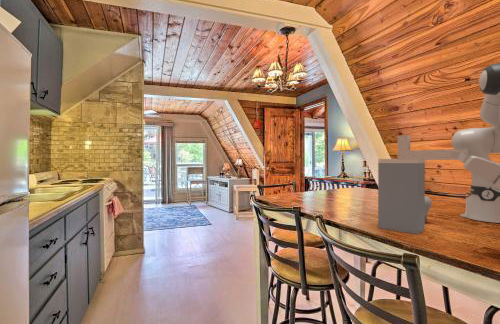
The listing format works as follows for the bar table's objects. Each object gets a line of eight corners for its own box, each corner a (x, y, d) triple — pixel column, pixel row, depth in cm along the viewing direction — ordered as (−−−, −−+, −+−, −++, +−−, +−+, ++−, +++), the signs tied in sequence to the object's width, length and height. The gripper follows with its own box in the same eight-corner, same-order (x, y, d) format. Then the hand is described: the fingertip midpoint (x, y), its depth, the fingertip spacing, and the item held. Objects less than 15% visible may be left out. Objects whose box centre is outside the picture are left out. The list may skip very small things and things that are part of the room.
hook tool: (400, 159, 92) (400, 136, 92) (468, 159, 80) (468, 132, 80) (397, 159, 90) (397, 135, 90) (466, 159, 78) (466, 131, 78)
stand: (387, 223, 110) (387, 158, 110) (424, 229, 101) (424, 158, 101) (378, 227, 103) (378, 158, 103) (417, 234, 94) (417, 158, 94)
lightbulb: (434, 224, 108) (434, 196, 108) (417, 223, 110) (417, 196, 109) (428, 220, 114) (428, 194, 114) (411, 220, 115) (412, 194, 115)
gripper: (517, 167, 79) (464, 145, 88) (517, 168, 64) (454, 142, 73) (502, 185, 81) (452, 162, 90) (499, 190, 67) (440, 162, 75)
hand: (453, 153), depth 81 cm, fingers closed on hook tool, 3 cm apart
